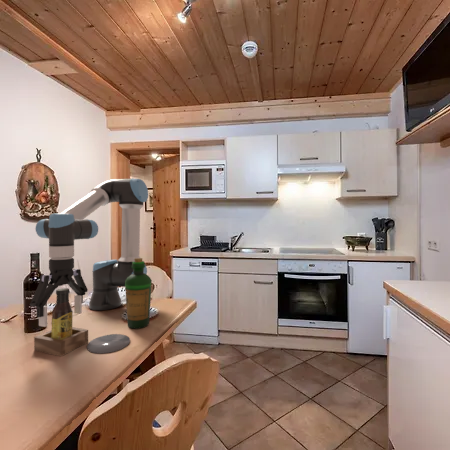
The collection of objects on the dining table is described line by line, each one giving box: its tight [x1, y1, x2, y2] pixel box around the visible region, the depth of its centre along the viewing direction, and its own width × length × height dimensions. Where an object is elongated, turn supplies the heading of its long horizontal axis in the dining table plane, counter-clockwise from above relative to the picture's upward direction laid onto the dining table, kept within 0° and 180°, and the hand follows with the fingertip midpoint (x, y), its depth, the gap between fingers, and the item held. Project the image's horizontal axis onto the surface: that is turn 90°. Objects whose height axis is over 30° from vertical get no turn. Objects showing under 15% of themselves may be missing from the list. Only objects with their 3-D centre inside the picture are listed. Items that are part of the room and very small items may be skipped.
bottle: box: [124, 257, 153, 330], centre depth 115 cm, size 11×11×28 cm
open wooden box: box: [33, 326, 89, 357], centre depth 96 cm, size 11×12×4 cm
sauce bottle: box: [51, 287, 74, 340], centre depth 96 cm, size 7×6×20 cm
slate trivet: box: [86, 333, 131, 354], centre depth 98 cm, size 14×14×1 cm
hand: (61, 319), depth 96 cm, fingers open, 13 cm apart
